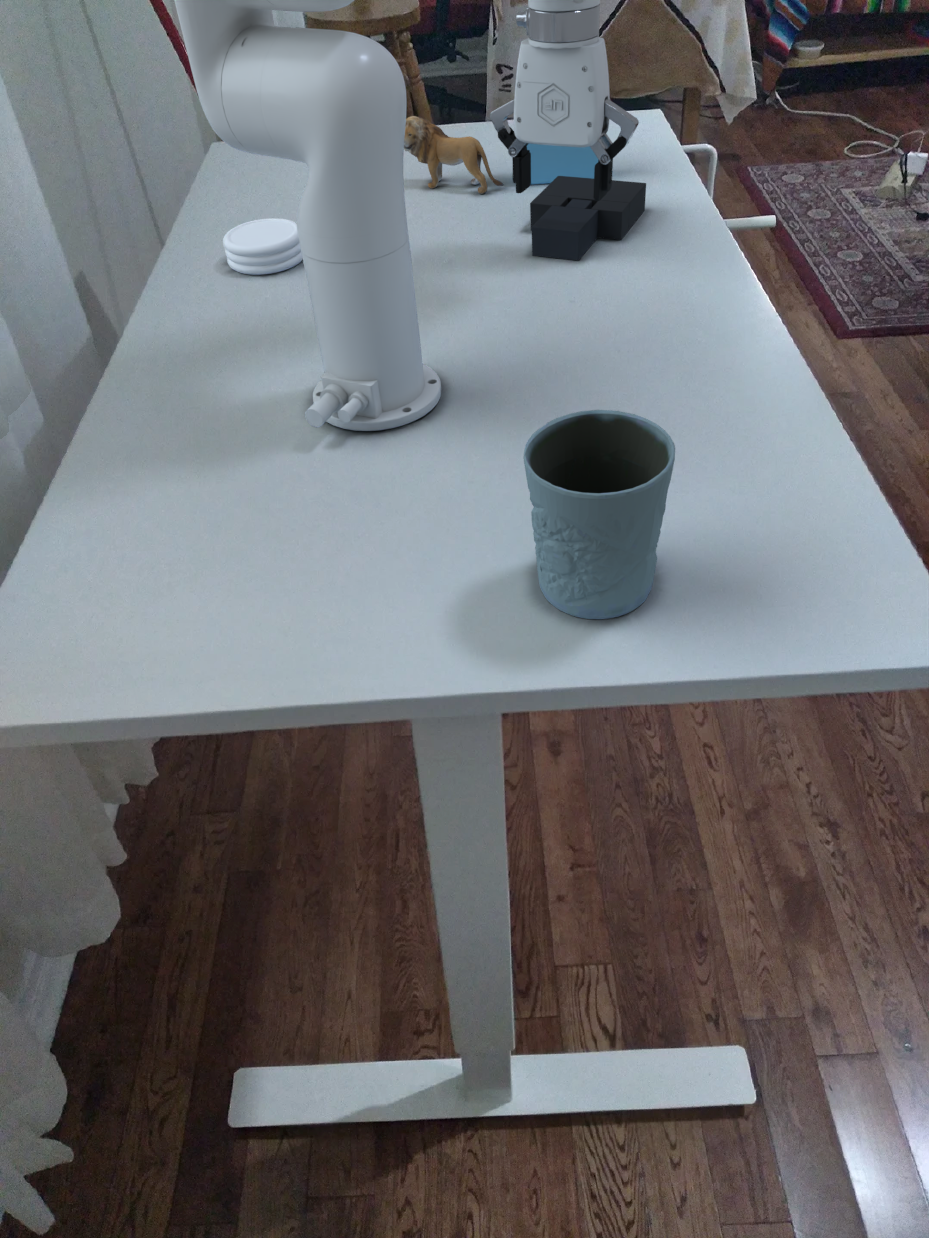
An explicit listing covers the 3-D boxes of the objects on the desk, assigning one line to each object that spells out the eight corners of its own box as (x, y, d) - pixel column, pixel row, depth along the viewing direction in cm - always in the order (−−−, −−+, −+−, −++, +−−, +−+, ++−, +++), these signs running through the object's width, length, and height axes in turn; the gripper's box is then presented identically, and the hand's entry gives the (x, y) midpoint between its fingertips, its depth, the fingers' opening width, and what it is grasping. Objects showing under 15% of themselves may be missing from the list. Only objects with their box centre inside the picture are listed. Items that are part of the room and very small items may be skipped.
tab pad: (578, 261, 116) (578, 231, 113) (531, 255, 118) (531, 227, 115) (604, 230, 122) (605, 201, 120) (559, 225, 124) (559, 197, 122)
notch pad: (621, 240, 119) (622, 211, 117) (530, 231, 123) (529, 203, 121) (644, 210, 126) (646, 183, 123) (558, 202, 130) (558, 175, 127)
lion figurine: (399, 190, 137) (392, 122, 131) (413, 177, 141) (407, 110, 135) (497, 196, 133) (494, 126, 127) (509, 182, 137) (507, 113, 131)
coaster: (215, 275, 120) (208, 247, 118) (247, 243, 127) (241, 215, 125) (290, 278, 118) (284, 249, 116) (318, 245, 125) (313, 217, 122)
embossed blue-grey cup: (650, 537, 77) (660, 404, 68) (675, 624, 69) (690, 486, 61) (522, 547, 77) (517, 415, 69) (533, 635, 69) (529, 499, 61)
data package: (602, 169, 138) (604, 76, 130) (604, 180, 135) (607, 85, 126) (517, 174, 139) (515, 82, 131) (518, 186, 135) (515, 91, 127)
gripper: (475, 30, 103) (481, 197, 114) (631, 36, 97) (622, 211, 108) (502, 16, 108) (506, 177, 119) (653, 20, 102) (642, 189, 113)
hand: (561, 193), depth 114 cm, fingers open, 9 cm apart
